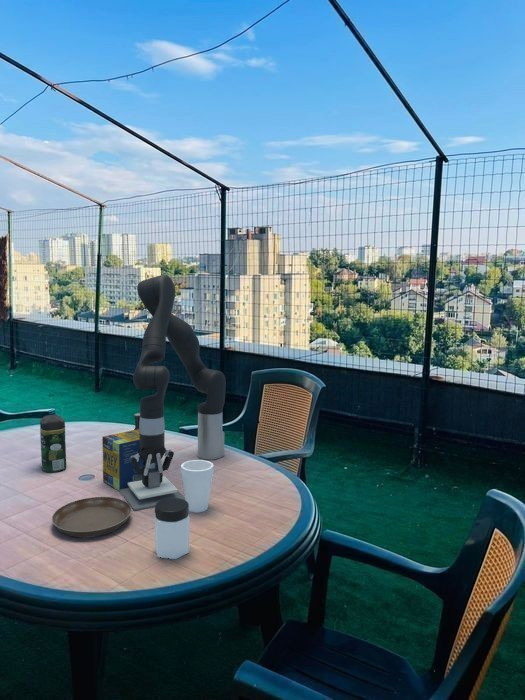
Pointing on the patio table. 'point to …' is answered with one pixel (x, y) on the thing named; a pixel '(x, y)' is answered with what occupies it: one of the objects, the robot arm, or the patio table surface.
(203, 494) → the foam cup
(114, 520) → the plant saucer
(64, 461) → the coffee jar
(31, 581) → the patio table surface
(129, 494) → the mat
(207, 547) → the patio table surface
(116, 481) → the protein box
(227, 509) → the patio table surface
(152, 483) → the lid
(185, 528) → the jar
